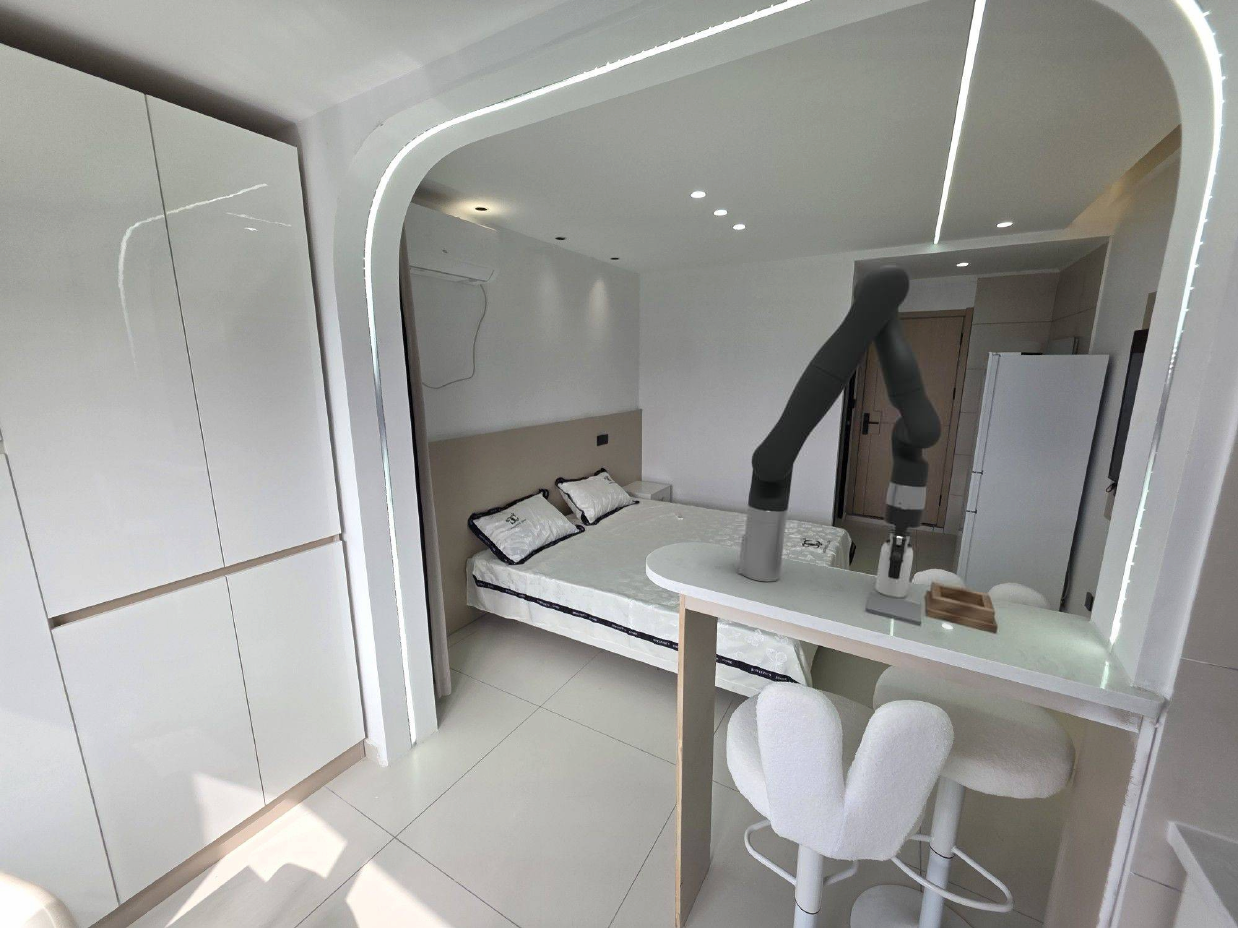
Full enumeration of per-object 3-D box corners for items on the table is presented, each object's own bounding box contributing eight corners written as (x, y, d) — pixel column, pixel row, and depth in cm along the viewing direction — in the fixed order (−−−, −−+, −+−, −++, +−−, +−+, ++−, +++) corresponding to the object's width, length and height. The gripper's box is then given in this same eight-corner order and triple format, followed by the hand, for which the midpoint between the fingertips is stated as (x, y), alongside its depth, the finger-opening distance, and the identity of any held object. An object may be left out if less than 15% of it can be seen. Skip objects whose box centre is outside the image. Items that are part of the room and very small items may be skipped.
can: (888, 599, 112) (896, 548, 110) (868, 587, 118) (876, 539, 116) (913, 598, 113) (921, 548, 111) (892, 586, 119) (900, 538, 117)
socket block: (925, 615, 104) (928, 598, 103) (925, 596, 114) (928, 579, 114) (996, 633, 98) (1000, 614, 97) (989, 611, 108) (992, 593, 108)
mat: (865, 611, 105) (865, 607, 104) (869, 595, 113) (870, 592, 113) (920, 625, 100) (920, 621, 99) (920, 607, 108) (920, 604, 108)
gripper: (888, 495, 120) (878, 560, 122) (884, 506, 107) (873, 578, 110) (924, 500, 116) (913, 567, 119) (924, 513, 104) (912, 587, 106)
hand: (894, 572), depth 114 cm, fingers open, 7 cm apart
